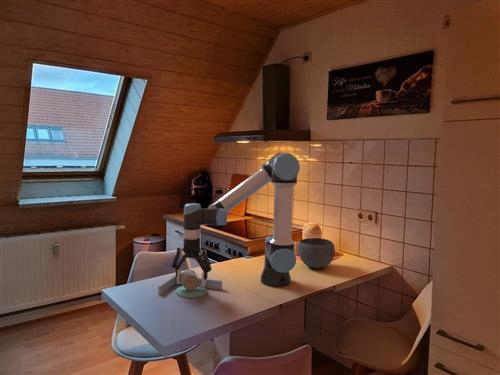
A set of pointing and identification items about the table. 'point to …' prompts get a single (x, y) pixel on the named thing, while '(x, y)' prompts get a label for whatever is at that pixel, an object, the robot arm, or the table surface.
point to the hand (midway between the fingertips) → (191, 284)
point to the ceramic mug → (190, 280)
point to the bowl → (316, 252)
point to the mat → (190, 292)
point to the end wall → (166, 285)
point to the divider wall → (210, 283)
